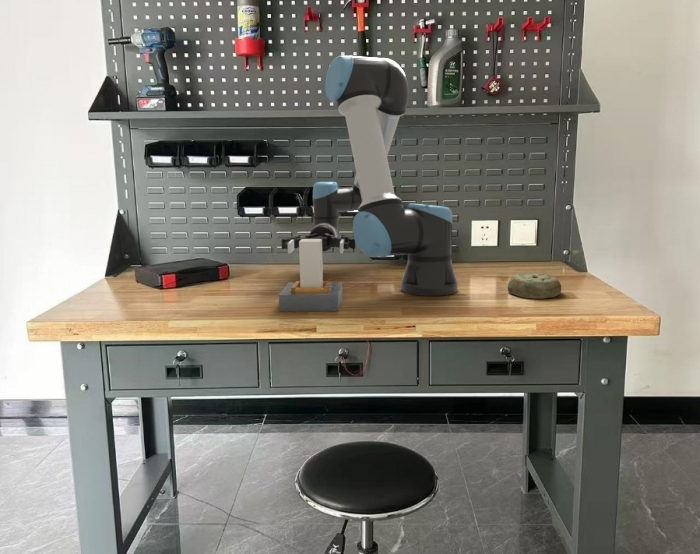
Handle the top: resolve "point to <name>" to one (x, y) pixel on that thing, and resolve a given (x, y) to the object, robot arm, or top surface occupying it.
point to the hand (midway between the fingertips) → (315, 248)
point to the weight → (534, 286)
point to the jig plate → (311, 297)
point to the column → (311, 263)
